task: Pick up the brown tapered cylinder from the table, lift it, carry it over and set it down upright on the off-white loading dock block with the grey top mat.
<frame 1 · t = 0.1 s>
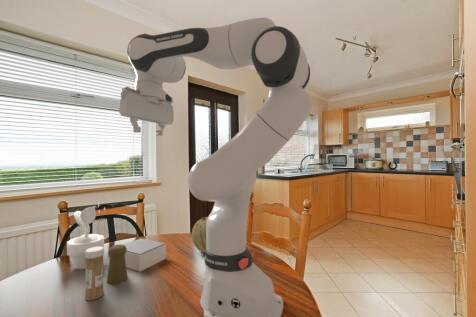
hand: (148, 134, 77), 48 cm above the table, tool pointing down, fingers open, 8 cm apart
brown tapered cylinder: (117, 280, 73), on the table
cantaloupe: (209, 251, 96), on the table
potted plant: (85, 266, 83), on the table
sprinkles bottle: (94, 296, 64), on the table
loading dock: (140, 261, 87), on the table
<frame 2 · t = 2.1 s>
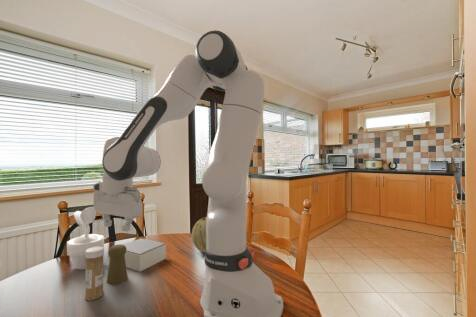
hand: (116, 228, 73), 17 cm above the table, tool pointing down, fingers open, 8 cm apart
nothing on the table moved.
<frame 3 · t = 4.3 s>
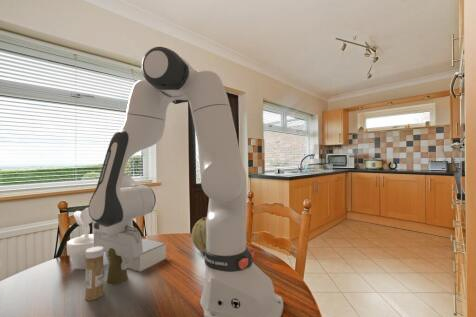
hand: (117, 266, 73), 4 cm above the table, tool pointing down, fingers closed on brown tapered cylinder, 5 cm apart
brown tapered cylinder: (117, 280, 73), on the table, touching gripper
everything else where it was.
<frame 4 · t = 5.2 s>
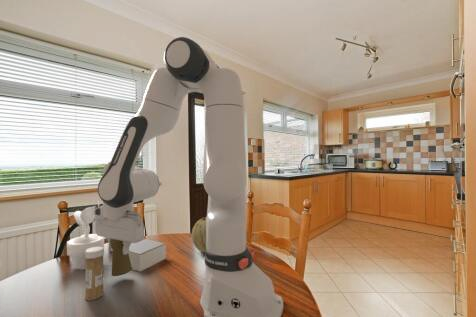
hand: (119, 252, 73), 9 cm above the table, tool pointing down, fingers closed on brown tapered cylinder, 4 cm apart
brown tapered cylinder: (122, 272, 72), point 3 cm above the table, touching gripper
everything else where it was.
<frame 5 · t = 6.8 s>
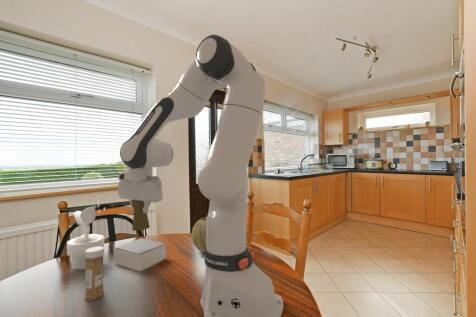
hand: (139, 212, 85), 19 cm above the table, tool pointing down, fingers closed on brown tapered cylinder, 4 cm apart
brown tapered cylinder: (141, 229, 84), point 13 cm above the table, touching gripper
everything else where it was.
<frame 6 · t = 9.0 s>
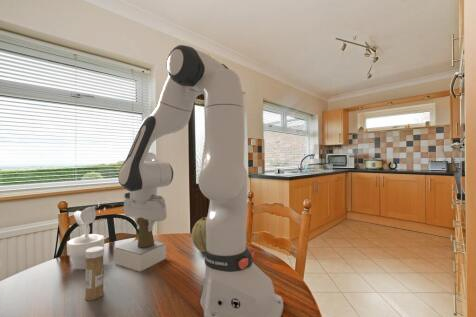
hand: (144, 230, 87), 12 cm above the table, tool pointing down, fingers closed on brown tapered cylinder, 4 cm apart
brown tapered cylinder: (146, 245, 87), point 6 cm above the table, touching gripper, loading dock
everything else where it was.
when the fingers open (12 cm above the table, at t = 9.1 s): brown tapered cylinder stays where it is, resting on loading dock.
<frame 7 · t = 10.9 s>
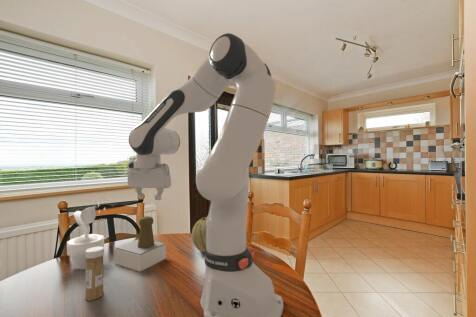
hand: (149, 199, 87), 24 cm above the table, tool pointing down, fingers open, 8 cm apart
brown tapered cylinder: (146, 245, 87), point 6 cm above the table, touching loading dock
everything else where it was.
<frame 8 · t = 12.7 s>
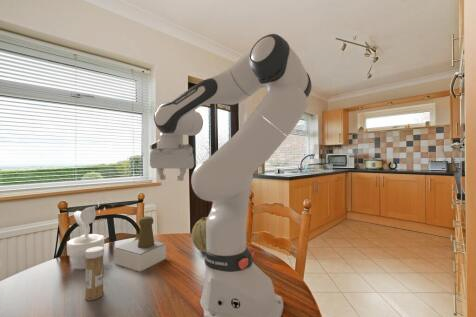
hand: (171, 180, 88), 31 cm above the table, tool pointing down, fingers open, 8 cm apart
nothing on the table moved.
at the end: brown tapered cylinder inside the target area on the loading dock (2.1 cm from its centre), point 5.8 cm above the loading dock's base; brown tapered cylinder tilted 0°; the gripper is holding nothing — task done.
